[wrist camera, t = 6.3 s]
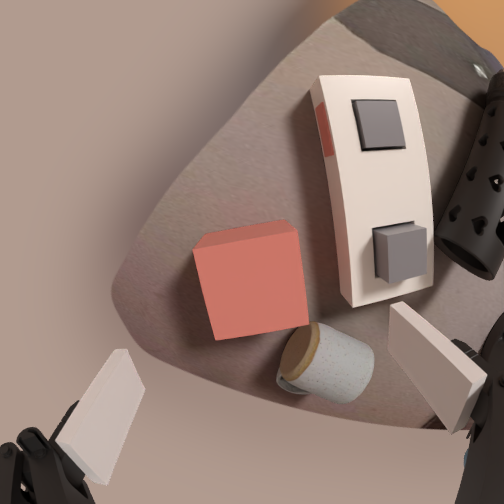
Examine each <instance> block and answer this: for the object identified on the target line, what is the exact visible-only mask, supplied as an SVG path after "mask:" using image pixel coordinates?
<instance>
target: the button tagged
mask: <svg viewBox="0 0 504 504" xmlns="http://www.w3.org/2000/svg"><path fill="white" fill-rule="evenodd" d="M352 107H353V111H354V116H355V120H356V125H357V130H358V135H359V140H360V145H361V151H370V150H385V149H391V148H396V147H401V146H406V143H405V138H404V133H403V128H402V123H401V118H400V114H399V110H398V106H397V102H396V101H355V102H354V103H353V104H352Z"/></svg>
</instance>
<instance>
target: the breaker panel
mask: <svg viewBox="0 0 504 504" xmlns="http://www.w3.org/2000/svg"><path fill="white" fill-rule="evenodd" d="M309 90H310V94H311V98H312V103H313V107H314V112H315V116H316V121H317V126H318V131H319V136H320V141H321V146H322V151H323V157H324V162H325V168H326V174H327V180H328V187H329V193H330V200H331V207H332V215H333V223H334V231H335V240H336V249H337V259H338V270H339V282H340V293H341V294H342V296H343V297H344V298H345V299H346V300H347V302H348V303H349V304H350V305H351V306H352V307H353V308H354V307H358V306H362V305H366V304H370V303H374V302H378V301H382V300H385V299H389V298H393V297H396V296H400V295H403V294H407V293H410V292H414V291H417V290H420V289H424V288H427V287H430V286H433V270H434V232H433V211H432V198H431V187H430V178H429V170H428V163H427V156H426V150H425V144H424V138H423V133H422V128H421V123H420V119H419V114H418V110H417V106H416V102H415V98H414V94H413V90H412V87H411V83H410V80H409V79H407V78H396V77H383V76H360V75H328V76H318V78H317V79H316V81H315V82H314V83H313V85H312V86H311V88H310V89H309ZM355 101H396V102H397V106H398V110H399V114H400V118H401V123H402V128H403V133H404V138H405V143H406V146H401V147H396V148H391V149H385V150H370V151H361V145H360V140H359V135H358V130H357V125H356V120H355V116H354V111H353V107H352V104H353V103H354V102H355ZM403 222H407V223H411V224H414V225H418V226H421V227H425V228H427V274H424V275H421V276H417V277H414V278H410V279H406V280H402V281H399V282H395V283H391V284H388V283H387V282H386V281H384V280H383V279H382V278H380V277H379V276H378V275H376V274H375V269H374V251H373V237H372V228H375V227H381V226H386V225H392V224H398V223H403Z"/></svg>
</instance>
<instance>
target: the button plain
mask: <svg viewBox="0 0 504 504" xmlns="http://www.w3.org/2000/svg"><path fill="white" fill-rule="evenodd" d="M372 237H373V251H374V269H375V274H376V275H378V276H379V277H380V278H382V279H383V280H384V281H386V282H387V283H388V284H391V283H395V282H399V281H402V280H406V279H410V278H414V277H417V276H421V275H424V274H427V228H425V227H421V226H418V225H414V224H411V223H407V222H403V223H398V224H392V225H386V226H381V227H375V228H372Z"/></svg>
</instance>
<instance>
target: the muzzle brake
mask: <svg viewBox="0 0 504 504" xmlns="http://www.w3.org/2000/svg"><path fill="white" fill-rule="evenodd" d="M496 179H498V184H496V183H495V182H494V180H496ZM503 216H504V68H503V69H501V70H500V71H499V72H498V73H497V74H495V75H494V76H493V77H492V78H491V80H490V83H489V88H488V92H487V96H486V108H485V110H484V114H483V117H482V120H481V124H480V127H479V130H478V133H477V136H476V139H475V142H474V144H473V147H472V150H471V153H470V155H469V158H468V160H467V163H466V166H465V168H464V171H463V173H462V175H461V178H460V180H459V182H458V185H457V187H456V189H455V191H454V194H453V196H452V198H451V200H450V202H449V204H448V206H447V208H446V211H445V213H444V215H443V217H442V219H441V221H440V222H439V224H438V226H437V228H436V230H435V232H434V243H435V244H436V245H437V247H439V248H440V249H441V250H442V251H443V252H444V253H445V254H446V255H447V256H448V257H449V258H451V259H452V260H453V261H454V262H456V263H457V264H459V265H460V266H461V267H463V268H464V269H466V270H467V271H469V272H471V273H472V274H474V275H476V276H478V277H480V278H482V279H485V280H489V281H490V280H493V279H494V277H495V275H496V273H497V271H498V269H499V267H500V265H501V263H502V261H503V259H504V221H503V222H501V221H500V218H502V217H503Z"/></svg>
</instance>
